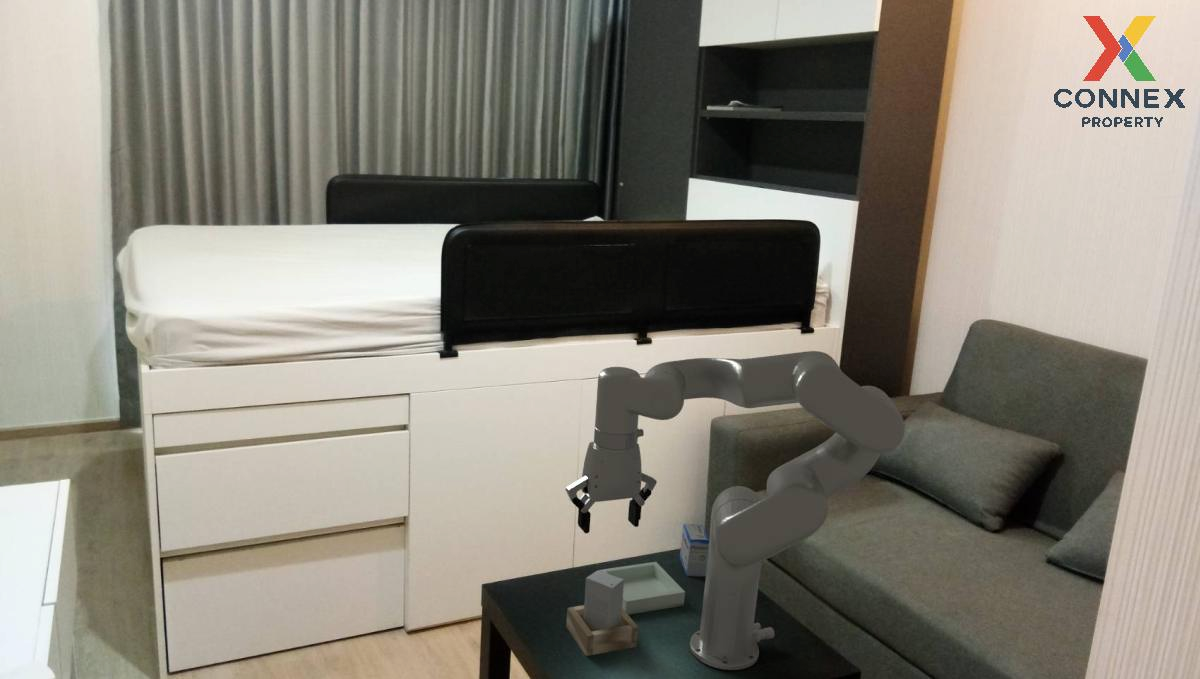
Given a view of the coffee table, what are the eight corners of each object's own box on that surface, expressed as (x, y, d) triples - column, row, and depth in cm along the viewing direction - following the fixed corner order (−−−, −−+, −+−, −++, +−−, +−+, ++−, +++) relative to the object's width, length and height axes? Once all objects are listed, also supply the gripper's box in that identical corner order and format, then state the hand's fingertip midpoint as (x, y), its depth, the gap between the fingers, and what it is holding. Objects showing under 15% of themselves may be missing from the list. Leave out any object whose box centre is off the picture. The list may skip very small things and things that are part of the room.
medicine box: (679, 559, 202) (682, 523, 200) (698, 559, 203) (702, 523, 201) (686, 576, 195) (690, 539, 193) (706, 577, 195) (710, 539, 193)
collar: (614, 618, 176) (615, 599, 176) (636, 646, 168) (638, 627, 167) (566, 626, 173) (567, 607, 172) (586, 656, 164) (587, 636, 163)
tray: (654, 574, 195) (655, 561, 194) (683, 605, 183) (685, 591, 182) (598, 583, 189) (599, 569, 189) (624, 615, 178) (626, 601, 177)
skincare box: (620, 637, 170) (625, 579, 167) (608, 647, 167) (613, 588, 164) (593, 626, 173) (597, 569, 171) (580, 636, 170) (585, 577, 167)
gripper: (650, 426, 167) (643, 513, 172) (561, 434, 161) (556, 523, 165) (668, 440, 161) (661, 530, 165) (577, 449, 154) (571, 542, 158)
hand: (608, 526), depth 165 cm, fingers open, 9 cm apart
